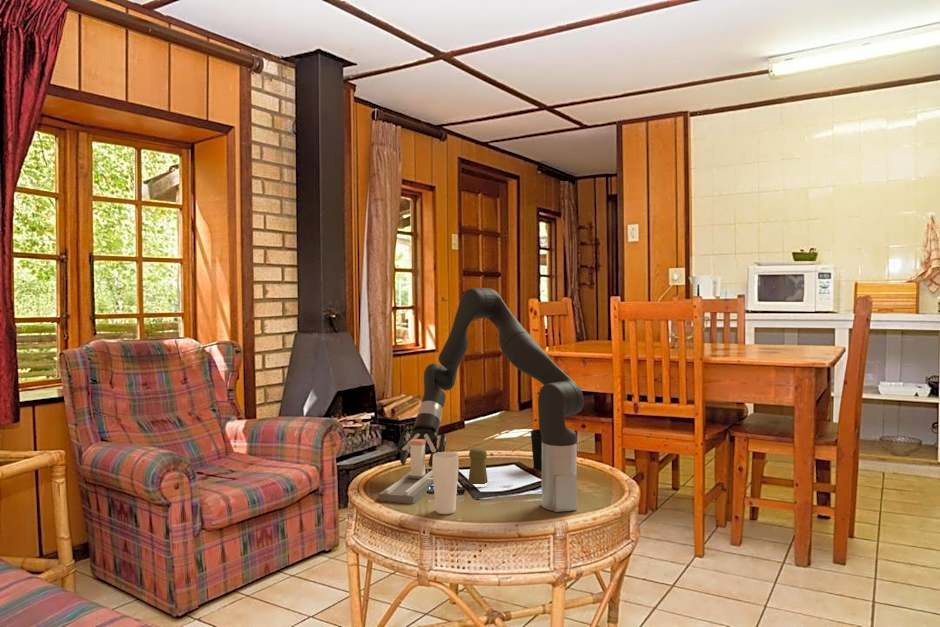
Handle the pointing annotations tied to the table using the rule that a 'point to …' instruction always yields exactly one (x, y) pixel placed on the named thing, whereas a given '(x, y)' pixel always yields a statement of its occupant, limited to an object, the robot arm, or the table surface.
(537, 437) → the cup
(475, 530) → the table surface
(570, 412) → the robot arm
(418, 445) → the fader tab
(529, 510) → the table surface
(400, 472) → the table surface
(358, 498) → the table surface
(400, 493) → the fader board
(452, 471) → the drinking glass
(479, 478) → the cork
